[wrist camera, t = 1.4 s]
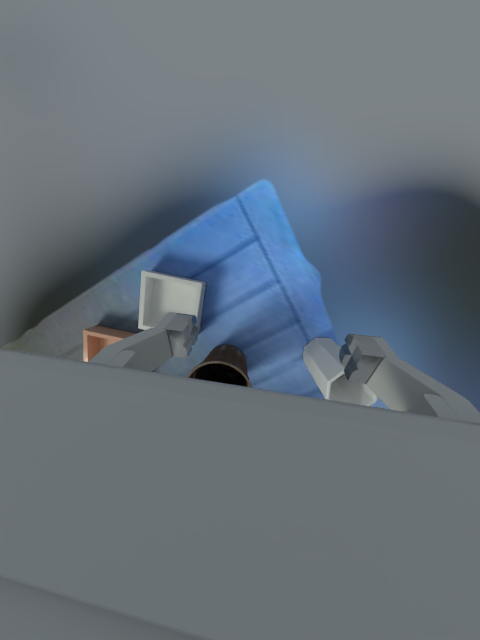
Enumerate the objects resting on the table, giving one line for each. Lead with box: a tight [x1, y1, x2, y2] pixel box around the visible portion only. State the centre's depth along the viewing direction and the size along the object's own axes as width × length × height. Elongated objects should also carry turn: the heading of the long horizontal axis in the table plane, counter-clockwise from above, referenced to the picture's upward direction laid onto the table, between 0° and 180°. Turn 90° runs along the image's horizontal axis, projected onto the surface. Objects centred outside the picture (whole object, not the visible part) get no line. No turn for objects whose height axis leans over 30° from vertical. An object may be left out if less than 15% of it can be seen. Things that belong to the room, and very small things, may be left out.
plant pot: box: [187, 345, 252, 388], centre depth 51 cm, size 16×16×16 cm
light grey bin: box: [138, 271, 207, 335], centre depth 52 cm, size 16×16×5 cm
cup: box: [303, 338, 378, 406], centre depth 47 cm, size 11×11×18 cm
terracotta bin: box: [83, 325, 136, 362], centre depth 58 cm, size 16×16×5 cm
